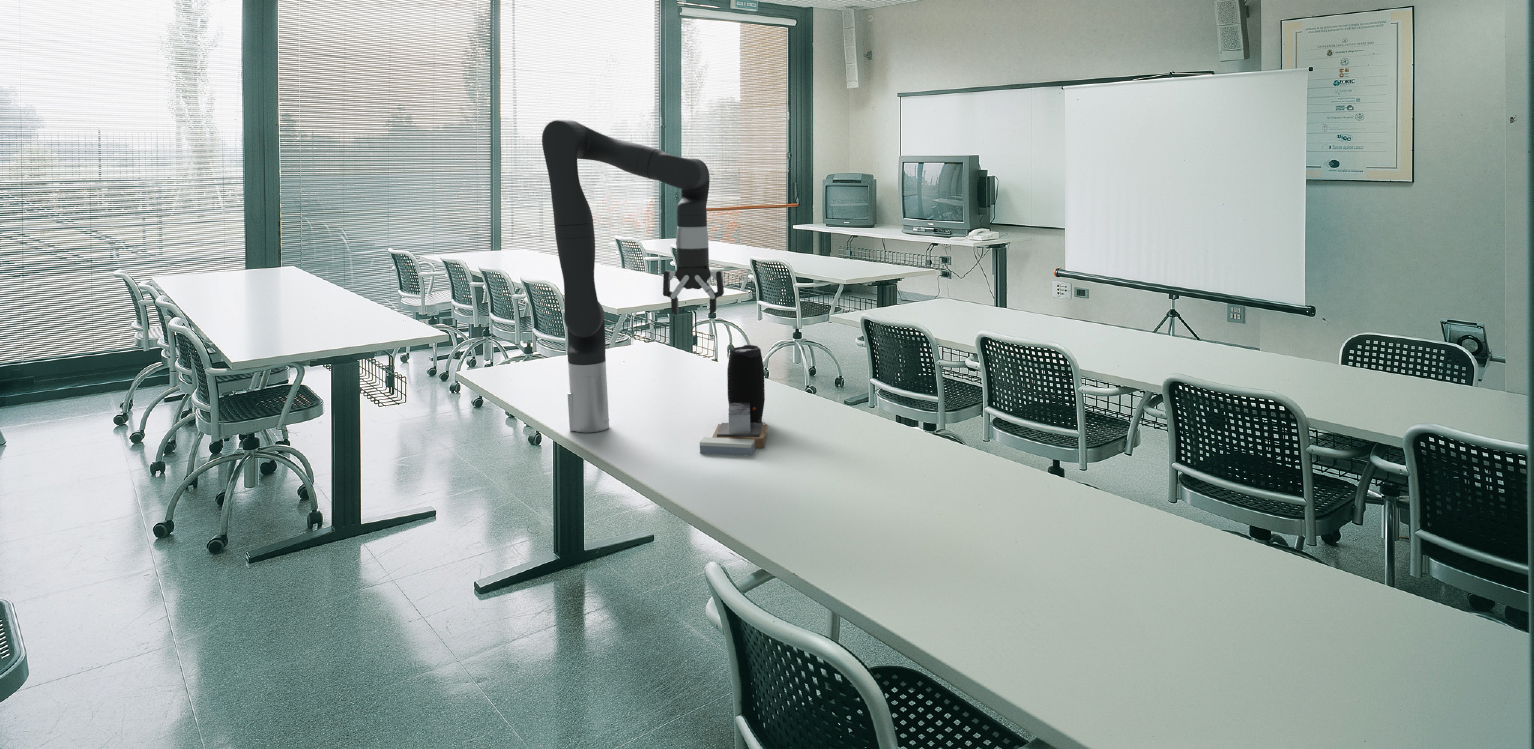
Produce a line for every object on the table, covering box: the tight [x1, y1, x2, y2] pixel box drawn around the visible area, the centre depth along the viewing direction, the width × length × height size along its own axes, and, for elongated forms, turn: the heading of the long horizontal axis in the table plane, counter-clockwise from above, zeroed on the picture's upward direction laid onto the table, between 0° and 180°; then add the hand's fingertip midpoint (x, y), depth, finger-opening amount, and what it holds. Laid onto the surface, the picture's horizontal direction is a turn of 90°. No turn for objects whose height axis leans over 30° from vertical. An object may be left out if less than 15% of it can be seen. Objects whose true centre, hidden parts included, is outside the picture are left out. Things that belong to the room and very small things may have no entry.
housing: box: [728, 403, 750, 434], centre depth 227 cm, size 10×5×5 cm, turn 1°
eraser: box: [699, 436, 756, 457], centre depth 219 cm, size 12×4×3 cm, turn 78°
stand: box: [711, 422, 768, 449], centre depth 228 cm, size 12×12×3 cm
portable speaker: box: [726, 344, 766, 423], centre depth 242 cm, size 9×9×20 cm
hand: (693, 314), depth 227 cm, fingers open, 8 cm apart
